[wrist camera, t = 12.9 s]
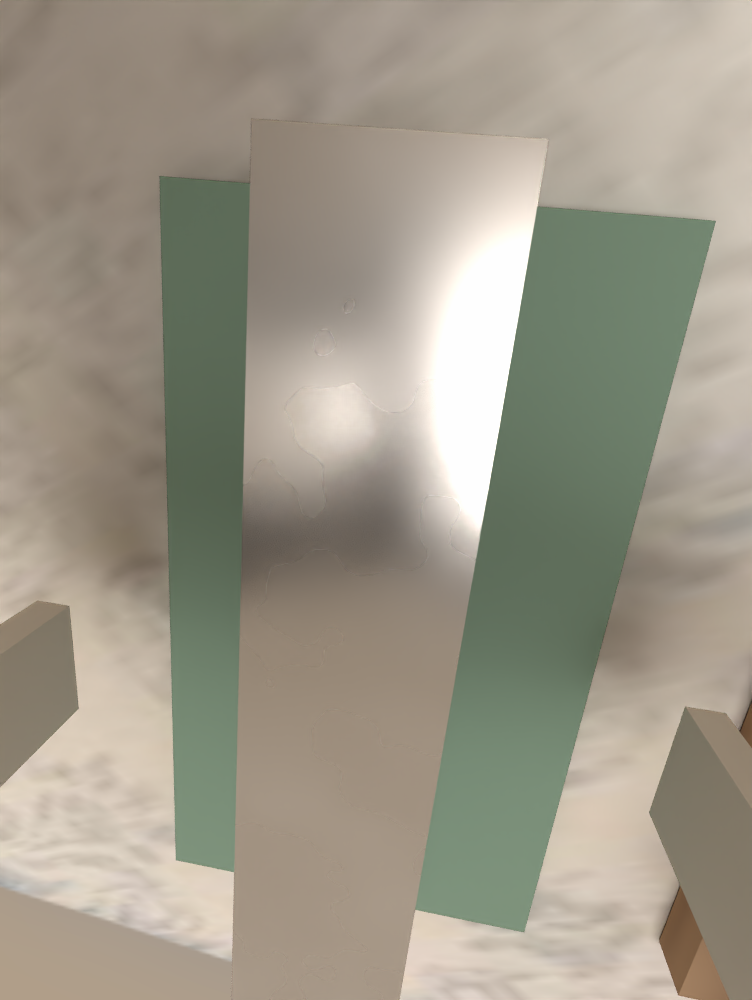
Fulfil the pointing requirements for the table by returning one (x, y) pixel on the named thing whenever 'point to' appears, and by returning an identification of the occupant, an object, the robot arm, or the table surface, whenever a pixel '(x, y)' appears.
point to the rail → (361, 523)
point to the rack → (693, 940)
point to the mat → (503, 539)
